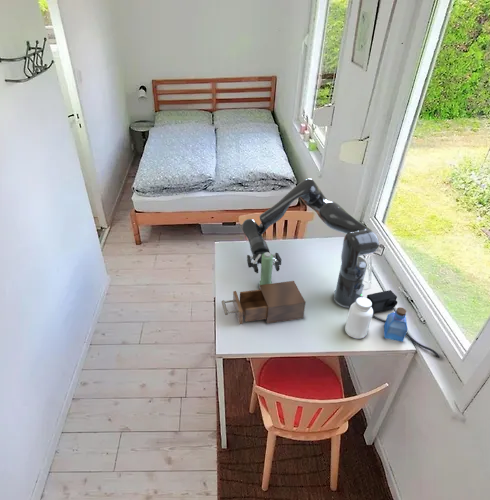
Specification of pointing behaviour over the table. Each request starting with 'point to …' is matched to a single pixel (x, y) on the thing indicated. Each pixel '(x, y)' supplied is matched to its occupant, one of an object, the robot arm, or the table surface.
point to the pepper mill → (266, 268)
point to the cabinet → (283, 301)
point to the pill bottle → (359, 318)
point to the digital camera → (382, 301)
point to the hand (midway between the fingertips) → (267, 270)
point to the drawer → (248, 306)
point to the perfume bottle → (396, 325)
